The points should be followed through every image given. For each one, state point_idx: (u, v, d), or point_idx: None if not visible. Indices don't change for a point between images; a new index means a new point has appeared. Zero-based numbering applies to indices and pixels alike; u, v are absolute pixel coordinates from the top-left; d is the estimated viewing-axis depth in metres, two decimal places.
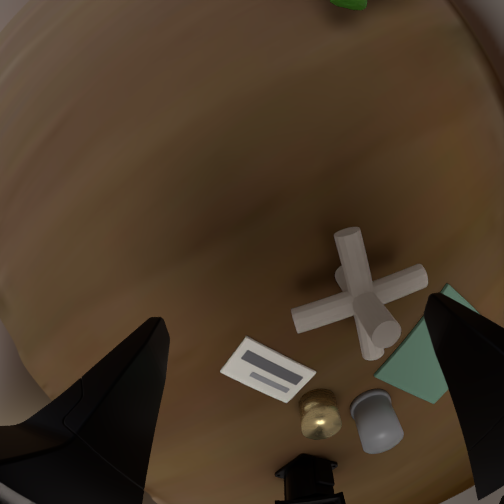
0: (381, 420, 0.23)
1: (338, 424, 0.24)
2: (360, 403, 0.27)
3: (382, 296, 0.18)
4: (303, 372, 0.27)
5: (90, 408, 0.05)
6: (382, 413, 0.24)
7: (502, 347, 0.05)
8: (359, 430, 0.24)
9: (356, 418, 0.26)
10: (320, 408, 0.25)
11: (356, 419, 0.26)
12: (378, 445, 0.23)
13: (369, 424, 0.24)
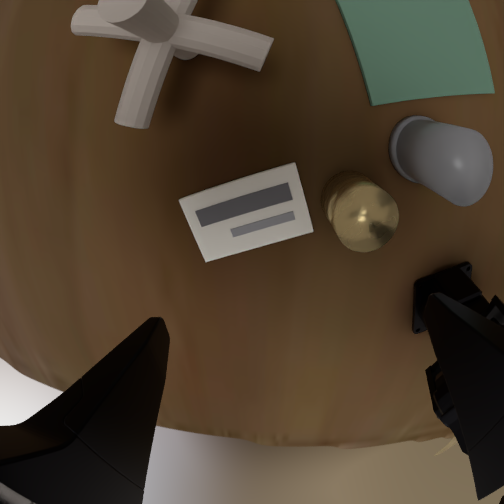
0: (431, 140, 0.13)
1: (385, 197, 0.15)
2: (397, 153, 0.17)
3: (168, 1, 0.09)
4: (280, 176, 0.18)
5: (90, 408, 0.05)
6: (426, 133, 0.13)
7: (502, 347, 0.05)
8: (426, 183, 0.15)
9: (411, 174, 0.16)
10: (338, 197, 0.16)
11: (413, 176, 0.16)
12: (467, 180, 0.12)
13: (424, 160, 0.13)
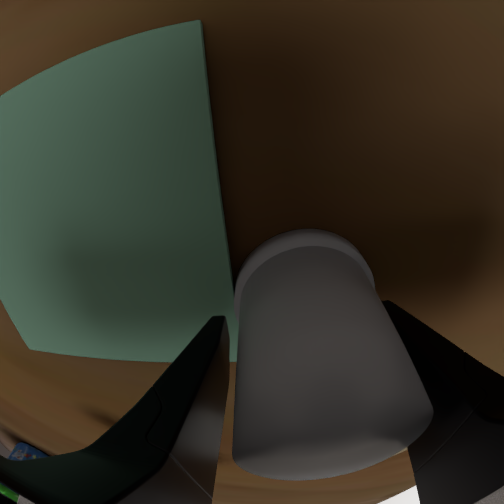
0: None
1: None
2: None
3: None
4: None
5: (177, 420, 0.05)
6: None
7: (444, 367, 0.05)
8: None
9: None
10: None
11: None
12: (365, 446, 0.05)
13: None
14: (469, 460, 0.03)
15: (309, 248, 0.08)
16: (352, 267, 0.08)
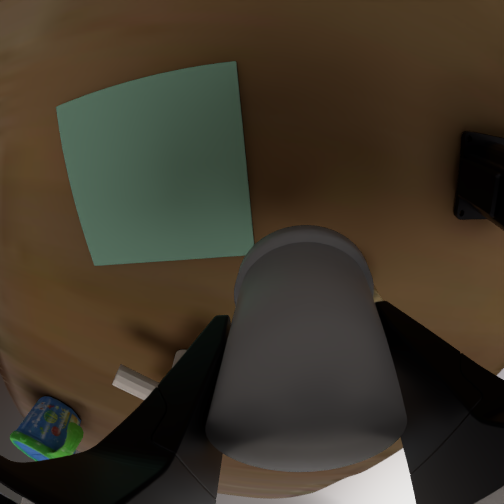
0: None
1: None
2: None
3: None
4: None
5: (182, 420, 0.05)
6: None
7: (440, 368, 0.05)
8: None
9: None
10: None
11: None
12: (336, 443, 0.05)
13: None
14: (465, 462, 0.03)
15: (306, 244, 0.09)
16: (347, 265, 0.08)
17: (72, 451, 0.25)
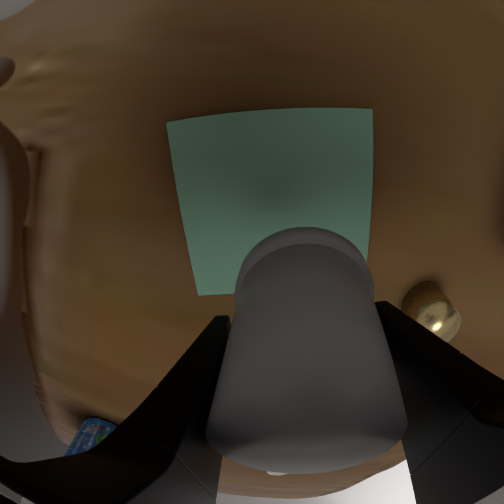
0: None
1: (433, 321, 0.18)
2: None
3: None
4: None
5: (182, 420, 0.05)
6: None
7: (440, 368, 0.05)
8: None
9: None
10: None
11: None
12: (337, 446, 0.05)
13: None
14: (465, 462, 0.03)
15: (307, 246, 0.09)
16: (347, 267, 0.08)
17: None
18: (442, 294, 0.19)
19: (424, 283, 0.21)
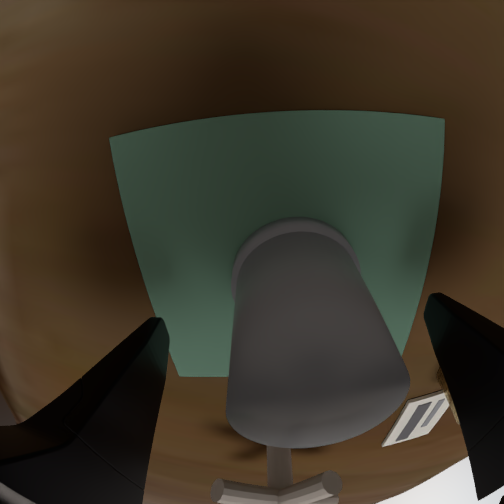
0: None
1: None
2: None
3: None
4: (411, 409, 0.17)
5: (90, 408, 0.05)
6: None
7: (502, 347, 0.05)
8: None
9: None
10: None
11: None
12: (348, 410, 0.06)
13: None
14: None
15: (298, 233, 0.09)
16: (337, 250, 0.09)
17: None
18: None
19: None
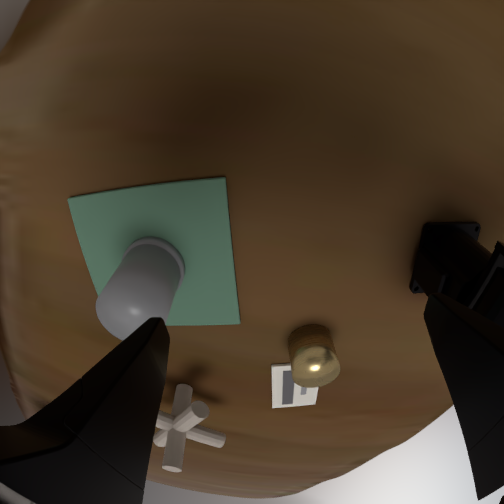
0: None
1: (303, 365, 0.22)
2: None
3: (164, 429, 0.24)
4: (278, 373, 0.27)
5: (90, 408, 0.05)
6: None
7: (502, 347, 0.05)
8: None
9: None
10: None
11: None
12: (139, 319, 0.16)
13: None
14: None
15: (144, 245, 0.19)
16: (158, 253, 0.19)
17: None
18: (322, 339, 0.23)
19: (308, 326, 0.24)
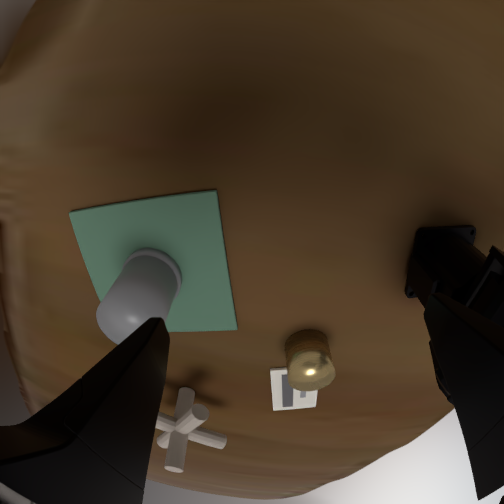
0: None
1: (298, 370, 0.22)
2: None
3: (167, 431, 0.25)
4: (276, 376, 0.28)
5: (90, 408, 0.05)
6: None
7: (502, 347, 0.05)
8: None
9: None
10: None
11: None
12: (136, 327, 0.17)
13: None
14: None
15: (142, 256, 0.20)
16: (155, 264, 0.20)
17: None
18: (318, 344, 0.24)
19: (304, 331, 0.25)
